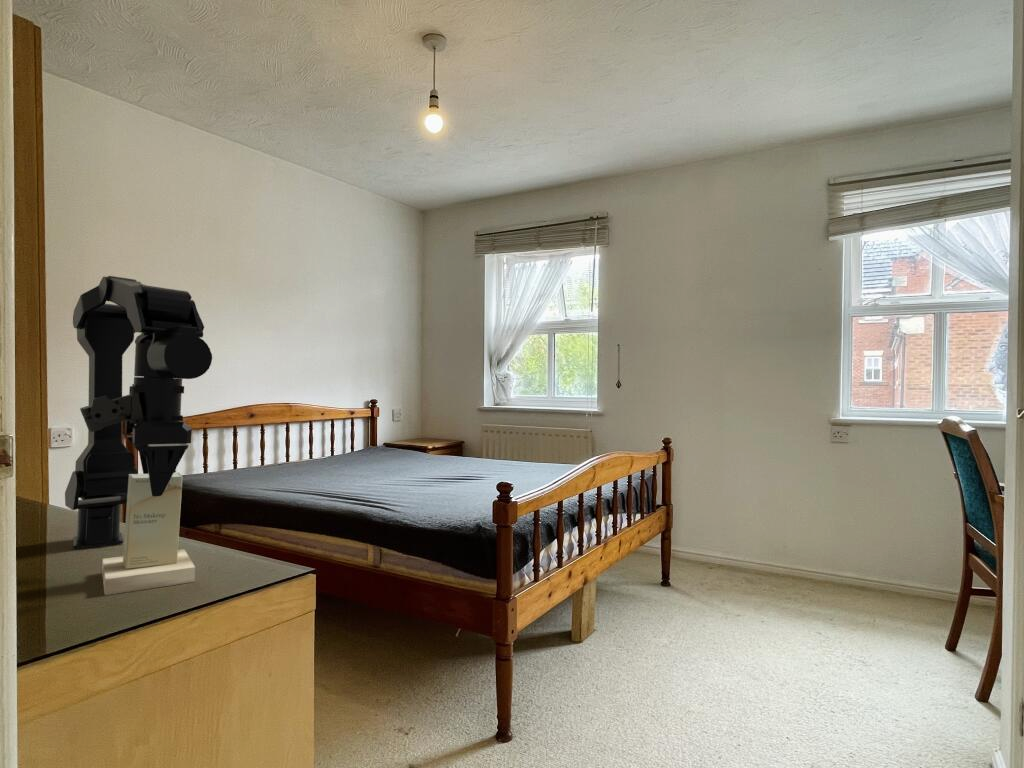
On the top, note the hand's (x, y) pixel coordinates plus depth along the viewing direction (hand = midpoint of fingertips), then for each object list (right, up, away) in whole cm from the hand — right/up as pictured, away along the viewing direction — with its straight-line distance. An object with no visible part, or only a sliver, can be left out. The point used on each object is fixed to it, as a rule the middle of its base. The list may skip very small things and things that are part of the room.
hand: (153, 490), depth 79 cm
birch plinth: (-1, -12, 0) cm, 12 cm away
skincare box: (0, -10, 0) cm, 10 cm away
